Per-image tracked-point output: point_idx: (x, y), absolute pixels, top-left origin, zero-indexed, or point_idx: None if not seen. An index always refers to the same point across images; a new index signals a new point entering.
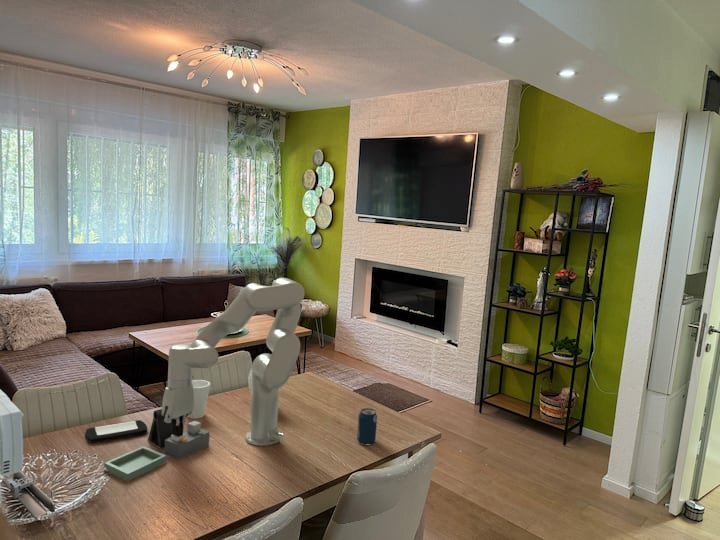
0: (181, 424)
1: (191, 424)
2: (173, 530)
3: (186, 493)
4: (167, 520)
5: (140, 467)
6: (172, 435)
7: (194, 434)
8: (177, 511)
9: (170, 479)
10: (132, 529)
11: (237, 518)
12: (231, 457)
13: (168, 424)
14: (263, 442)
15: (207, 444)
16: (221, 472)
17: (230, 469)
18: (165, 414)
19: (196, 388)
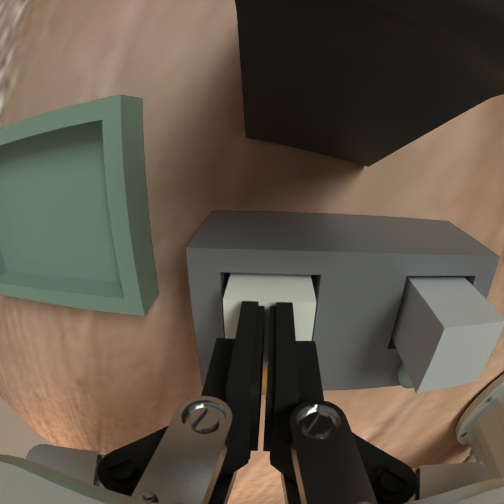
0: (270, 452)
1: (434, 364)
2: None
3: (119, 437)
4: (58, 436)
5: (23, 295)
6: (226, 312)
7: (391, 351)
8: (80, 442)
9: (111, 381)
10: (9, 401)
11: None
12: (359, 433)
13: (380, 91)
14: (463, 438)
15: None
16: (256, 457)
17: None
18: (25, 495)
19: None
